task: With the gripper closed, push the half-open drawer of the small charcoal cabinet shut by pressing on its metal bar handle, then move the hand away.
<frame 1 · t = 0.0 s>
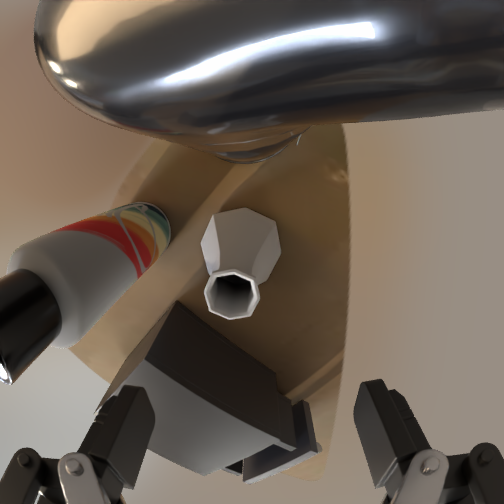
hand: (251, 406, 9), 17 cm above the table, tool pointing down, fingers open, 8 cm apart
cabinet: (196, 369, 29), on the table
lotion bottle: (144, 230, 25), on the table
flask: (241, 246, 25), on the table
drawer: (254, 434, 26), point 5 cm above the table, slide at 5.0 cm
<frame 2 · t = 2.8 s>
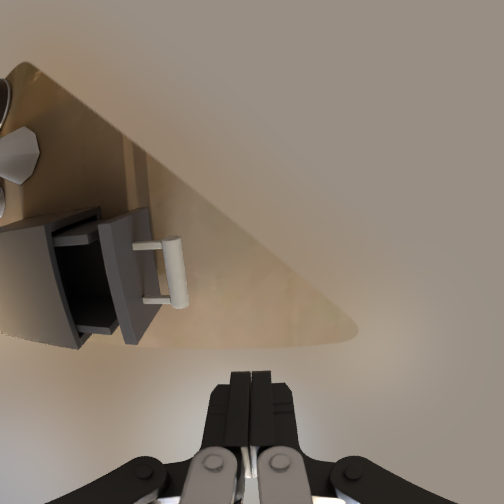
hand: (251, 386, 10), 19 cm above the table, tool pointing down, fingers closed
cabinet: (64, 259, 28), on the table
flask: (23, 155, 25), on the table
drawer: (103, 272, 24), point 5 cm above the table, slide at 5.0 cm
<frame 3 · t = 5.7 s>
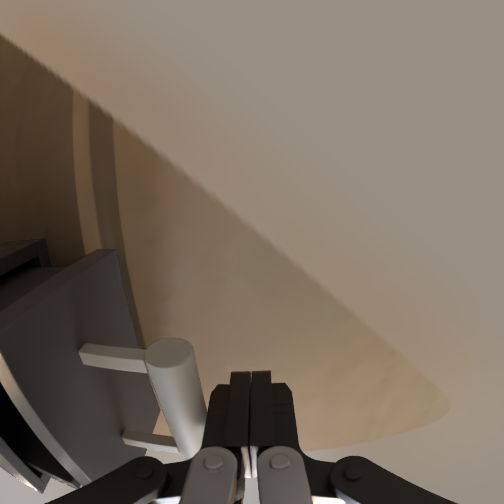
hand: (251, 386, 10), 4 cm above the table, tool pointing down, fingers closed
cabinet: (9, 319, 14), on the table
drawer: (44, 378, 10), point 5 cm above the table, slide at 4.3 cm, touching gripper
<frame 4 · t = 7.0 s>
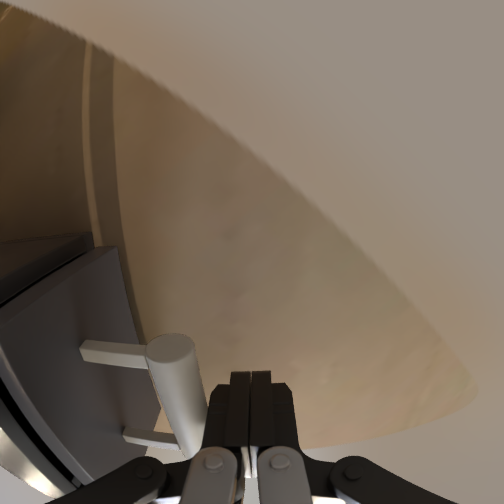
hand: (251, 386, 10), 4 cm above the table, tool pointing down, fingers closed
cabinet: (37, 322, 14), on the table
drawer: (44, 375, 10), point 5 cm above the table, slide at 0.8 cm, touching gripper
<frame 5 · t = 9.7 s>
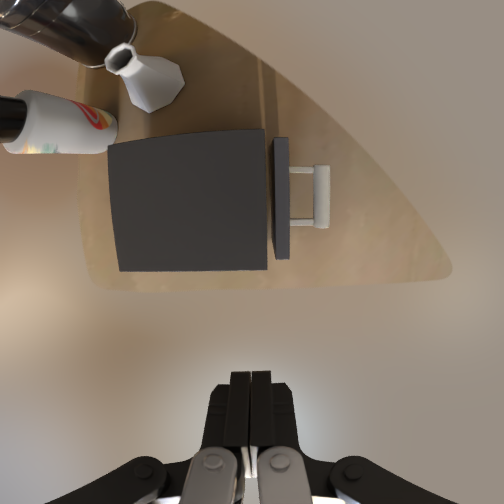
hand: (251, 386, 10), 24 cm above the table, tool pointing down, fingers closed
cabinet: (203, 194, 31), on the table
lotion bottle: (101, 132, 29), on the table
flask: (156, 84, 28), on the table
drawer: (242, 196, 27), point 5 cm above the table, slide at 0.8 cm
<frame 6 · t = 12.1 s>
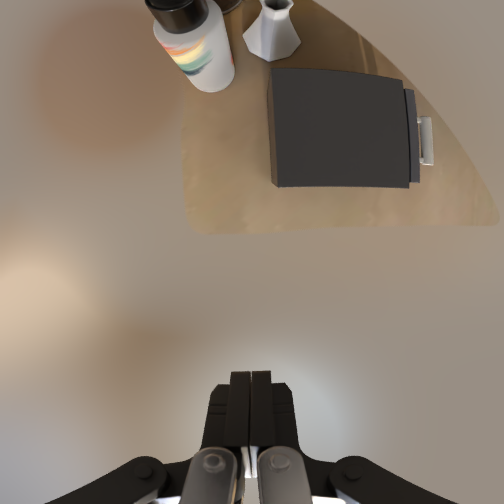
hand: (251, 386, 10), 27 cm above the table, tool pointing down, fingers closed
cabinet: (323, 136, 32), on the table
lotion bottle: (213, 74, 30), on the table
flask: (271, 39, 29), on the table
drawer: (371, 134, 27), point 5 cm above the table, slide at 0.8 cm
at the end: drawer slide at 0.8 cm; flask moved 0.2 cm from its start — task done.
